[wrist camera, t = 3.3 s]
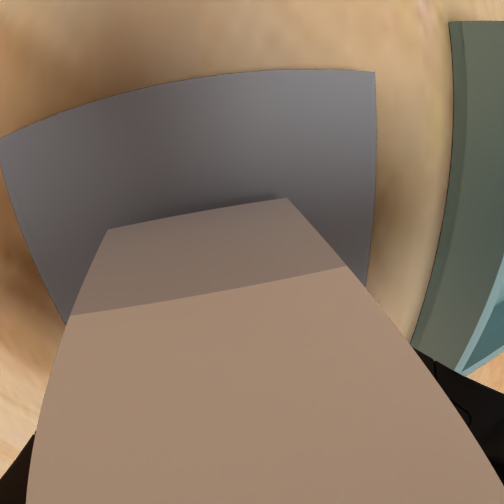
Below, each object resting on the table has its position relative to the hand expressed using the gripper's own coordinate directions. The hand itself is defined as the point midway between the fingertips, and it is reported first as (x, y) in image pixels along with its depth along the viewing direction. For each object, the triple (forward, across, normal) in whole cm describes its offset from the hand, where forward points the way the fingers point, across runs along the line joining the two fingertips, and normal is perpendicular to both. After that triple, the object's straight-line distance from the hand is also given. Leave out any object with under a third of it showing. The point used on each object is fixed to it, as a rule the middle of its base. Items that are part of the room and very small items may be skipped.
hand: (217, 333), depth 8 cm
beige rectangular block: (+2, 0, 0) cm, 2 cm away
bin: (+4, -18, 0) cm, 18 cm away
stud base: (+4, 0, 0) cm, 4 cm away
